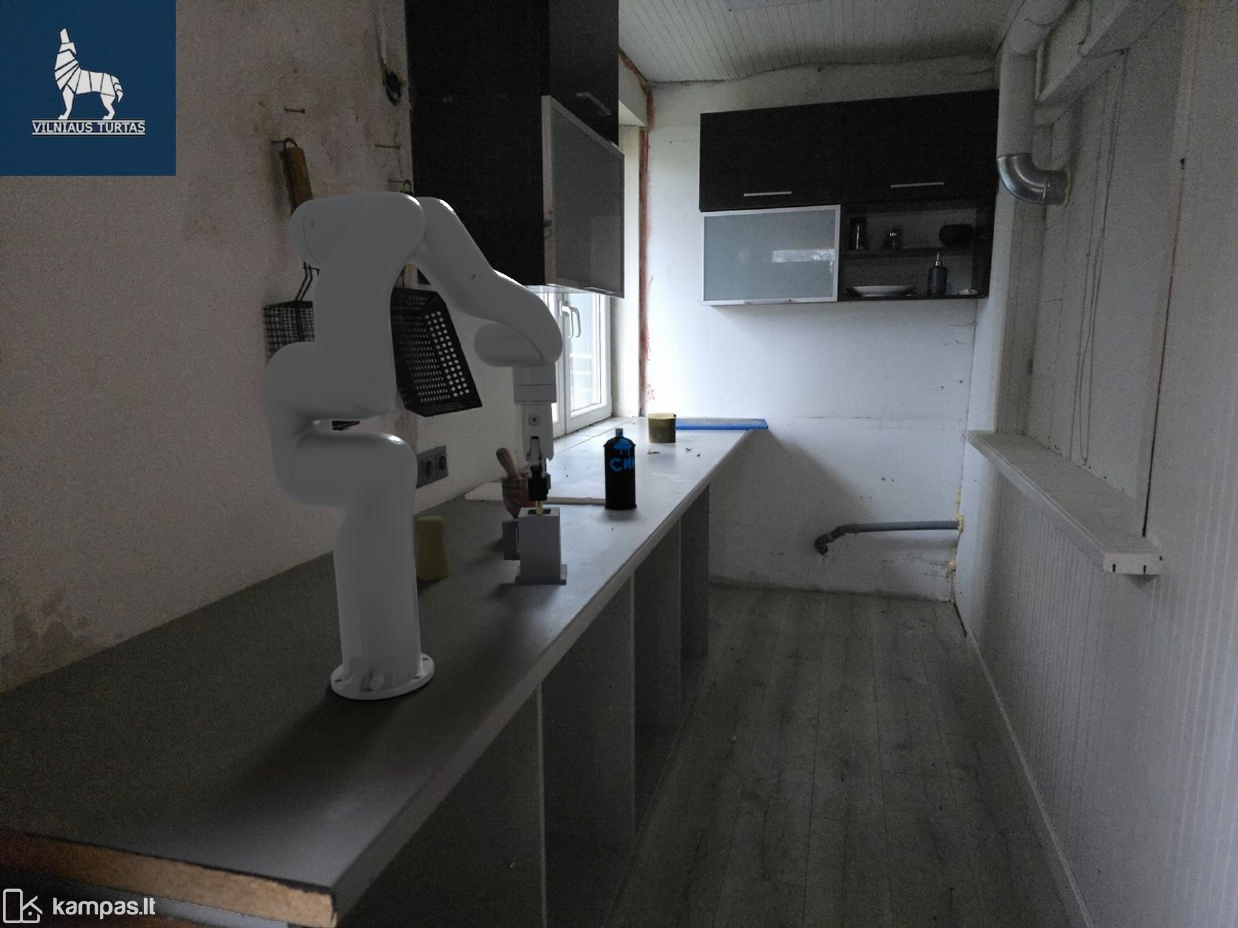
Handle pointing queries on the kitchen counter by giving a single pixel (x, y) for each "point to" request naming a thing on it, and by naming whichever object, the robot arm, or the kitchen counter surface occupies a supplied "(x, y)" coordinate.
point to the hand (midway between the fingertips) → (538, 496)
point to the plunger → (540, 503)
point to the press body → (535, 546)
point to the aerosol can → (619, 472)
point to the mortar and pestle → (513, 486)
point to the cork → (431, 549)
